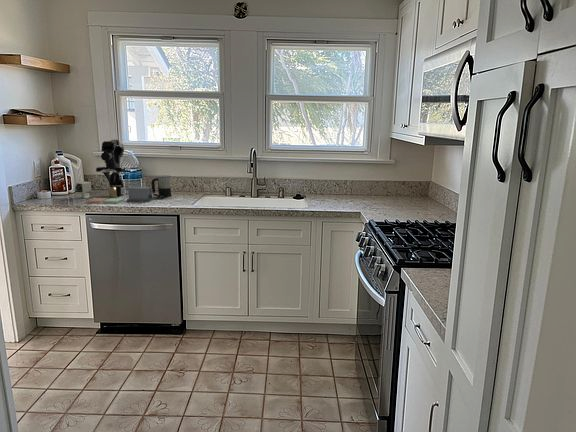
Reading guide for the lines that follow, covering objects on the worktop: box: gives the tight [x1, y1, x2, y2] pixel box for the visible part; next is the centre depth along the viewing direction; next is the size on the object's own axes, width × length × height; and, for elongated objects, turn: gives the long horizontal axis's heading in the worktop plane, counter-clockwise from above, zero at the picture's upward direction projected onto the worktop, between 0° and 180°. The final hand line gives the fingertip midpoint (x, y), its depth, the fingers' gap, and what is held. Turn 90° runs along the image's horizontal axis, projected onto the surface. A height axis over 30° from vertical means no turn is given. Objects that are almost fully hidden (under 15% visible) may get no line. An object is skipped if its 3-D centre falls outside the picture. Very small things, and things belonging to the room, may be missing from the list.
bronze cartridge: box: [107, 186, 118, 199], centre depth 302 cm, size 5×5×8 cm
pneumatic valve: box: [75, 181, 94, 199], centre depth 304 cm, size 6×12×12 cm, turn 155°
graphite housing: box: [127, 186, 155, 202], centre depth 297 cm, size 8×16×9 cm, turn 84°
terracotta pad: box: [85, 197, 109, 204], centre depth 292 cm, size 10×10×2 cm
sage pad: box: [102, 197, 125, 205], centre depth 290 cm, size 10×10×2 cm
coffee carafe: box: [150, 174, 172, 199], centre depth 308 cm, size 14×16×15 cm
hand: (111, 181), depth 300 cm, fingers open, 3 cm apart
